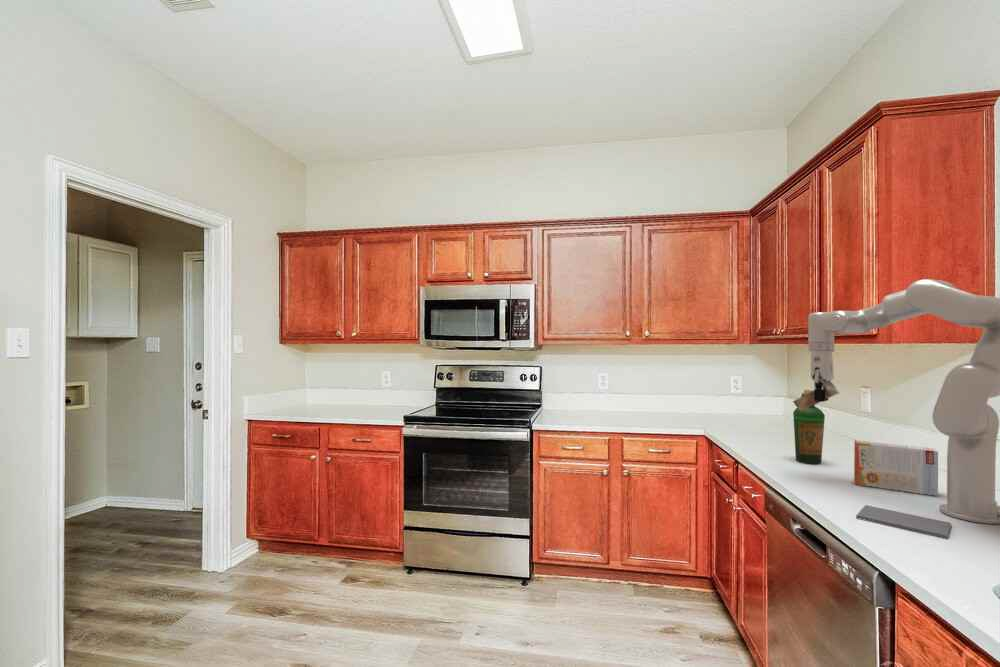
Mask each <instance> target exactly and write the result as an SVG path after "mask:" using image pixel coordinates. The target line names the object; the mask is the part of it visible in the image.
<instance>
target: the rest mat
mask: <svg viewBox="0 0 1000 667" xmlns="http://www.w3.org/2000/svg"><path fill="white" fill-rule="evenodd" d="M855 517H856V519H857V518H861V519H860V520H862V519H865V520H864V521H866V520H869V521H868V522H870V521H873V522H872V523H875V522H876V523H875V524H879V523H880V525H884V526H889V527H892V526H893V528H897V529H903V530H906V531H911V532H915V533H919V534H924V535H929V536H933V537H937V538H941V539H946V540H948V537H949V536H950V535H949V534H950V531H951V528H952V522H949V521H943V520H940V519H934V518H930V517H924V516H919V515H916V514H910V513H906V512H902V511H896V510H891V509H886V508H881V507H877V506H873V505H872V506H871V505H867V504H865V505H864V506H863V507H862V508H861V509H860V511H859V512H858V513H857V514H856V515H855Z"/></svg>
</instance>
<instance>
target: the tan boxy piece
mask: <svg viewBox="0 0 1000 667" xmlns="http://www.w3.org/2000/svg"><path fill="white" fill-rule="evenodd" d="M820 381H821V382H822V383H823V385H824V390H825V399H828V400H829V399H830V398H831V397H833V396H836V395H839V394H840V391H839V390H838V389H837V388H836V387H837V386H835V384H834V383H833V382H832V380H830V381H825V379H821V380H820ZM792 402H793V405H795V407H796V408H798V409H799V411H803V410H805V409H807V408H809V407H811V406H813V405H815V406H816V405H817V404H819V403H822V402H821V401H815V400H814V391H813V392H811V393H809V394H807V395H805V396H803V397H799V398H796V399H795V400H793V401H792Z"/></svg>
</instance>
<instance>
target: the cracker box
mask: <svg viewBox="0 0 1000 667" xmlns="http://www.w3.org/2000/svg"><path fill="white" fill-rule="evenodd" d="M853 452H854V454H853V455H854V462H853V463H854V466H853V467H854V469H853V470H854V471H853V472H854V474H853V479H854V480H853V481H854V484H855V485H857V484H861V485H860V486H864V485H867V486H866V487H870V486H872V487H871V488H877V487H878V489H884V488H886V490H891V489H894V490H893V491H898V490H900V491H899V492H904V491H907V492H906V493H911V492H913V493H912V494H918V493H920V494H919V495H925V494H927V496H932V495H934V496H933V497H938V496H939V451H937V450H936V448H931V447H923V446H912V445H904V444H895V443H885V442H875V441H869V440H868V441H867V440H857V439H856V440H854V450H853Z"/></svg>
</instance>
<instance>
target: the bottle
mask: <svg viewBox="0 0 1000 667" xmlns="http://www.w3.org/2000/svg"><path fill="white" fill-rule="evenodd" d="M813 391H814V390H813V389H804V390H803V392H802V393H801V397H803V396H805V395H807V394H809V393H811V392H813ZM801 397H800V398H801ZM792 416H793V430H794V431H793V432H794V433H793V434H794V451H795V452H794V453H795V460H796V461H797V462H799V463H803V464H806V465H807V464H809V465H818V464H821V463H822V458H823V445H824V444H823V443H824V431H825V430H824V429H825V414H824V412H823V411H822V409H820V408H819V407H817V406H816V404H815V405H813V406H811V407H809V408H807V409H805V410H803V411H799V409H798V408H797V407H796V408H795V409H794V410H793V415H792Z"/></svg>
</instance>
